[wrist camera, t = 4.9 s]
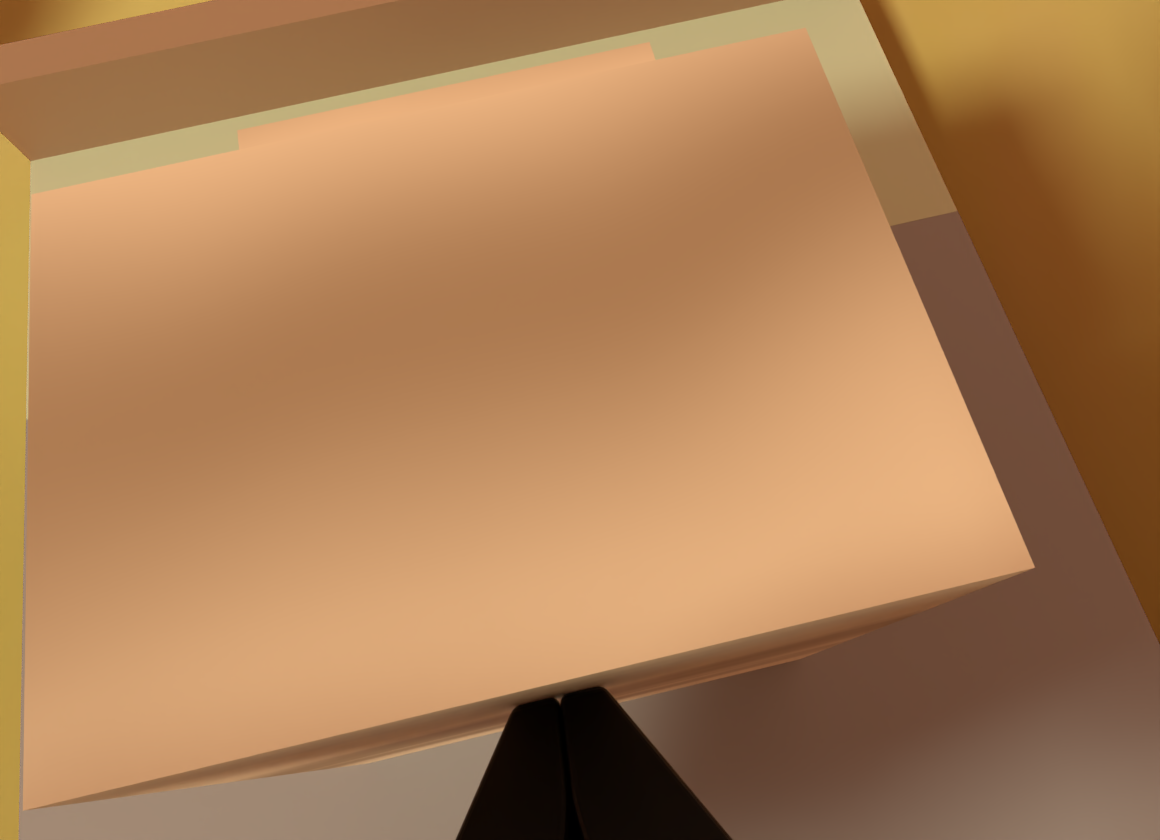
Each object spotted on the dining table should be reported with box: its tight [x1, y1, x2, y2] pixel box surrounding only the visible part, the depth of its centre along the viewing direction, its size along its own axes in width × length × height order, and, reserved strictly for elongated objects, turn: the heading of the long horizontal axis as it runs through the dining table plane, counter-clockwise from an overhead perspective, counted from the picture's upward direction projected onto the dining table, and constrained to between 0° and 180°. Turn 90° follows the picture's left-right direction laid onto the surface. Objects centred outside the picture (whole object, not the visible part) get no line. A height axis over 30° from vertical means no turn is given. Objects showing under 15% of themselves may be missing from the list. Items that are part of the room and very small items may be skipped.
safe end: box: [0, 0, 957, 420], centre depth 17 cm, size 7×18×4 cm, turn 103°
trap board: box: [19, 211, 1160, 840], centre depth 13 cm, size 18×18×2 cm
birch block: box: [23, 28, 1035, 811], centre depth 11 cm, size 10×7×8 cm
